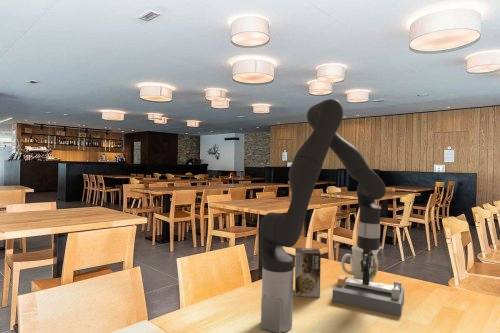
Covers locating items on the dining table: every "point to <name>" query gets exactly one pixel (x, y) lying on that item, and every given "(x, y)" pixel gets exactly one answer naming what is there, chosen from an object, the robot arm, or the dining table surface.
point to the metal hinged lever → (371, 285)
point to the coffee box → (307, 272)
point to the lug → (342, 280)
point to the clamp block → (371, 298)
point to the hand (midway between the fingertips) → (366, 282)
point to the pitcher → (356, 263)
